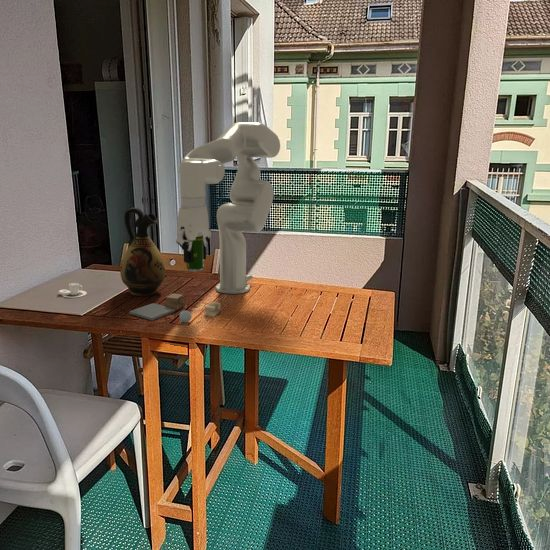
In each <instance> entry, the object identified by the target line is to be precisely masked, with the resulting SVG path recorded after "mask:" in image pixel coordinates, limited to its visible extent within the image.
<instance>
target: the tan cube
mask: <svg viewBox="0 0 550 550" xmlns="http://www.w3.org/2000/svg"><path fill="white" fill-rule="evenodd" d="M165 300H166V303H165V304H166V307H169V308H173V309H175V311H179V310H180V309H181V308H183V307H184V306H185V305H184V294H179V293H171V294H169V295H167V296H166V299H165Z"/></svg>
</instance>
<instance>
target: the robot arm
mask: <svg viewBox="0 0 550 550" xmlns="http://www.w3.org/2000/svg"><path fill="white" fill-rule="evenodd" d="M280 149H281V142H280V139H279V137H278V135H277V134H276V133H275V132H274V131H273V130H272V129H270V127H268V126H266V124H263V123H261V122H254V121H253V122H252V121H251V122H250V121H249V122H247V121H246V122H244V121H243V122H234V123H232V124H230V126H229V127H227V129H225V130H224V132H222V134H221V135H220V136H218V137H217V139H216V140H215V139H214V140H212V141H210V142H206V143H204V144H203V145H199V146H197V147H195V148H193V149H192V150H190V151H189V152H188V153H187V154H186V155H185V156H184V157H183V158H182V159H181V162H180V163H179V166H178V174H179V190H180V193H179V194H180V196H179V197H180V207H179V208H178V212H177V221H176V227H177V229H176V234H177V238H176V239H175V243H176V244H178V245H179V247H180V249H181V250H182V251H183V262H184V263H186V264H187V263H190V264H191V263H193V251H191V247H192V242H193V241H194V240H196V236H197V235H198V233H201V232H202V233H201V234H203V248H204V260H206V259H207V246H208V242H209V240H210V238H211V237H212V231H211V230H210V221H209V220H210V219H209V211H208V207H207V196H206V195H207V194H206V193H207V192H206V190H207V189H206V187H207V186H206V185H215V184H216V185H217V184H219V183H221V181H222V180H223V179H224V177H225V176H226V175H225V173H226V170H225V166H224V164H227V163H230V162H233V161H234V160H236V159H237V164H238V165H237V166H238V168H237V172H236V174H235V177H234V180H233V183H232V185H231V188H230V191H229V199H230V201H231V202H229V203H223V204H221V205H220V206H219V207H218V209H217V210H216V222H217V227H218V233H219V234H218V235H219V236H218V237H219V283H217V285H215V290H216V292H219V293H222V294H227V295H237V294H238V295H239V294H244V293H247V292H249V291H251V286H250V284H249V283H248V282H249V281H252V279H253V275H252V274H248V275H247V241H246V238H245V236H244V234H243V232H245V233H246V232H248V233H260V232H261V231H263V229H264V227H265V226H266V222H267V220H268V216H269V214H270V210H271V207H272V205H273V202H274V201H273V200H274V193H275V192H274V188H273V187H274V186H273V185H272V183H270V181H268V180H262V179H260V177H261V175H262V174H261V170H260V167H259V165H258V164H257V162H255V159H254V158H266V159H267V158H276V156H278V155H279V153H280V151H281V150H280ZM186 238H187V239H186ZM187 242H188V245H187Z"/></svg>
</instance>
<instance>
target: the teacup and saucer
mask: <svg viewBox="0 0 550 550" xmlns="http://www.w3.org/2000/svg"><path fill="white" fill-rule="evenodd" d="M68 287H69V288H68V289H60V290H58V294H59V295H60V296H62V297H64V298H69V299H70V298H71V299H75V298H81V297H84V296H86V295H87V294H88V293H87V291H85V290H83V286H82V285H81V284H79V283H78V282H71V283H68ZM80 287H81V288H80ZM79 293H82V294H81V295H80V294H79ZM69 295H72V296H69Z"/></svg>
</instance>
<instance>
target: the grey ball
mask: <svg viewBox="0 0 550 550" xmlns="http://www.w3.org/2000/svg"><path fill="white" fill-rule="evenodd" d="M178 318H179V320H180V322H182V323H189V322H190V321H191V320H192V313H191V312H190V311H189V310H182V311H181V312H180V313H179V317H178Z"/></svg>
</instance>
